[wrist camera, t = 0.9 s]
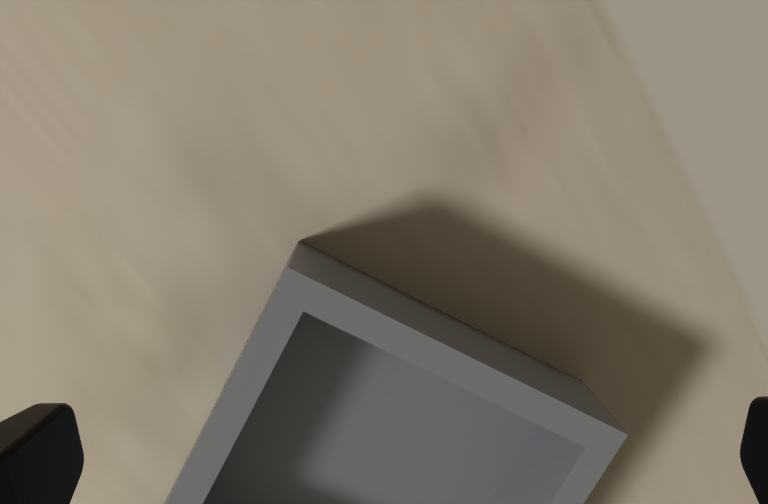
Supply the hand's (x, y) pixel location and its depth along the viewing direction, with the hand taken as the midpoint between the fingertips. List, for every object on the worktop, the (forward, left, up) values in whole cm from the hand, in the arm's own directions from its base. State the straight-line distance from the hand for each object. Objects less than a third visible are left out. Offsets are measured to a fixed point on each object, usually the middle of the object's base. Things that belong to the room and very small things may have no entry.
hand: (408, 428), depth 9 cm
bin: (-8, -4, -15) cm, 17 cm away
